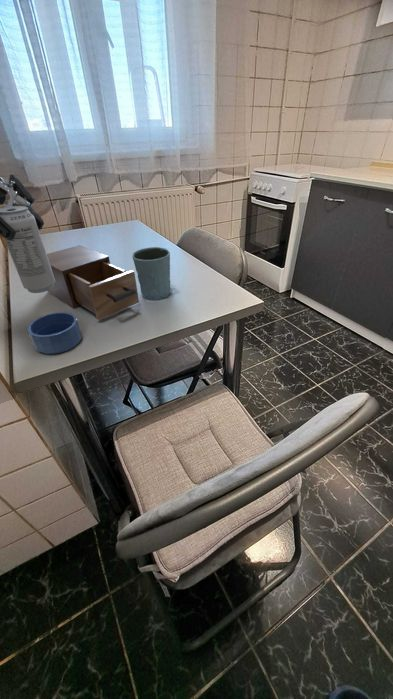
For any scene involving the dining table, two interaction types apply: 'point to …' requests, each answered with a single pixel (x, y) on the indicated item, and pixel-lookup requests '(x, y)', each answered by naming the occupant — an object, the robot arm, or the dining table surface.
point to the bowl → (55, 332)
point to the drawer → (103, 288)
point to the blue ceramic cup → (153, 272)
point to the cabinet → (71, 269)
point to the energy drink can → (28, 250)
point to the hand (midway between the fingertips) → (27, 231)
